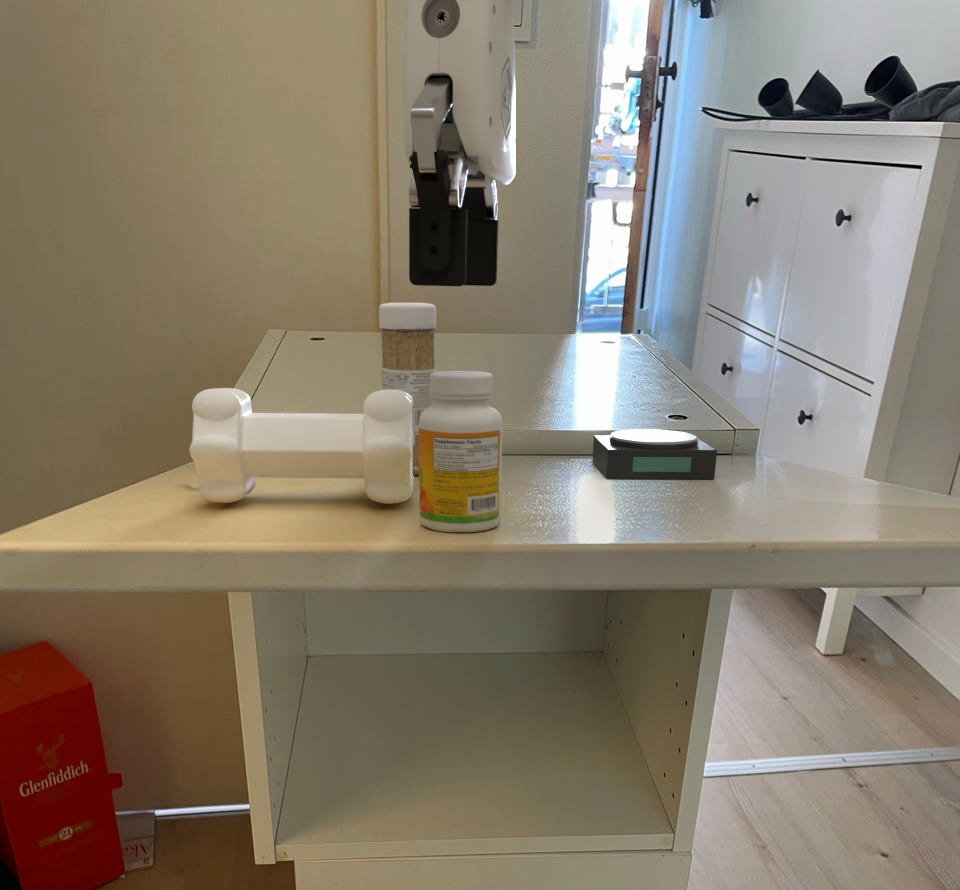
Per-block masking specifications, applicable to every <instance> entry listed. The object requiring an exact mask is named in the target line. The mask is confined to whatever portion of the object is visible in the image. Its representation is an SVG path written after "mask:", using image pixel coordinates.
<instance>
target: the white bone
mask: <svg viewBox="0 0 960 890" xmlns="http://www.w3.org/2000/svg"><path fill="white" fill-rule="evenodd" d="M412 408H413V399H412V397H411V396H410V395H409V394H407V393H406V392H403V391H400V390H394V389H386V390H382V389H380V390H377V391H373V392H372V393H370V394H369V395H368V396H367V397H366V398H365V399H364V401H363V404H362V410H363V413H315V412H314V413H311V412H309V413H307V412H303V413H302V412H301V413H300V412H253V410H252V409H253V408H252V399H251V397H250V395H249V394H248V393H246V392H245V391H244V390H241V389H239V388H232V387H220V388H217V387H215V388H207V389H204V390H202V391H200V392H198V393H197V394H196V395H195V396H194V397H193V400H192V403H191V410H192V414H193V415H192V433H191V435H192V436H191V444H190V445H189V451H188V452H189V455H190V458H191V459H192V460H193V464H194V467H195V472H196V476H197V479H198V484H199V486H198V493H199V494H200V496H201V497H202V498H204V499H205V500H207V501H210V502H213V503H218V504H222V503H223V504H227V503H228V504H229V503H235V502H238V501H240V500H242V499H243V498H245V497H246V495H248V494H250V493H251V492H253V490H254V489H255V487H256V484H257V478H259V479H262V478H266V479H270V478H271V479H272V478H273V479H274V478H275V479H279V478H280V479H287V478H288V479H364V481H365V490H364V491H365V494H366V496H367V497H368V498H369V499H370V500H371V501H374V502H376V503H379V504H390V505H391V504H399V503H403V502H406V501H407V500H408V499H410V498H411V497H412V496H413V492H414V486H415V475H413V445H414V442H415V438H414V434H413V432H412Z"/></svg>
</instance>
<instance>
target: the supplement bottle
mask: <svg viewBox="0 0 960 890" xmlns="http://www.w3.org/2000/svg"><path fill="white" fill-rule="evenodd" d="M493 386H494V385H493V374H492V373H490V372H487V371H479V370H478V371H477V370H476V371H475V370H443V371H436V372H434V373H431V374H430V396H431V397H433V405H432V406H431V407H428V408H426V409H425V410H424V411H423V412H422V413H421V415H420V417H419V475H418V486H419V487H418V488H419V491H418V492H419V494H418V495H419V496H418V497H419V499H418V500H419V501H418V502H419V521H420V522H421V525H423V526H424V527H426V528H428V529H431V530H433V531H437V532H443V533H444V532H445V533H476V532H482V531H487V530H492V529H494V528H495V527H498V525H499V524H500V522H501V516H502V470H503V469H502V468H503V465H502V464H503V462H502V461H503V418H502V414H501V413H500V412H499V411H498V410H497V409H496V408H494V407H492V406H491V405H490V404H489V399H490V398H491V397H492V396H493V393H494V388H493Z"/></svg>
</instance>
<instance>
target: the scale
mask: <svg viewBox="0 0 960 890" xmlns="http://www.w3.org/2000/svg"><path fill="white" fill-rule="evenodd" d="M592 443H593V444H592V461H591V462H592V464H593V463H594V464H593V465H594V466H595V467H596V468H597V469H598V470H599V472H600V473H601V475H603V476H604V477H605V478H606V480H715V479H716V478H715V477H716V468H717V458H718V457H717V456H718V455H717V454H718V450H717V449H716V448H714V447H712V446H711V445H710V444H708V443H706V442H705V441H703V440H701V439H699V438H698V437H697V436H696V435H695V434H692V433H688V432H684V431H679V430H678V431H677V430H671V429H652V428H649V429H648V428H633V429H621V430H616V431H613V432H611V433H610V435H593V442H592Z"/></svg>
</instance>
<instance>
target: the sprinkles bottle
mask: <svg viewBox="0 0 960 890" xmlns="http://www.w3.org/2000/svg"><path fill="white" fill-rule="evenodd" d="M378 327H379V328H380V329H381V330H380V334H381V359H382V361H381V390H386V389H394V390H400V391H403V392H406V393H407V394H409V395H410V396H411V397H412V399H413V408H412V432H413V434H414V438H415V442H414V445H413V476H419V417H420V415H421V413H422V412H423V411H424V410H425V409H426V408H428V407H431V406H432V405H433V397H431V396H430V374H431V373H434V372H437V369H436V364H435V363H436V362H435V361H436V360H435V357H436V356H435V334H436V331H435V330H436V328H437V307H436V305H435V304H433V303H427V302H402V301H401V302H387V303H381V304H380V305H379V306H378Z"/></svg>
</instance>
